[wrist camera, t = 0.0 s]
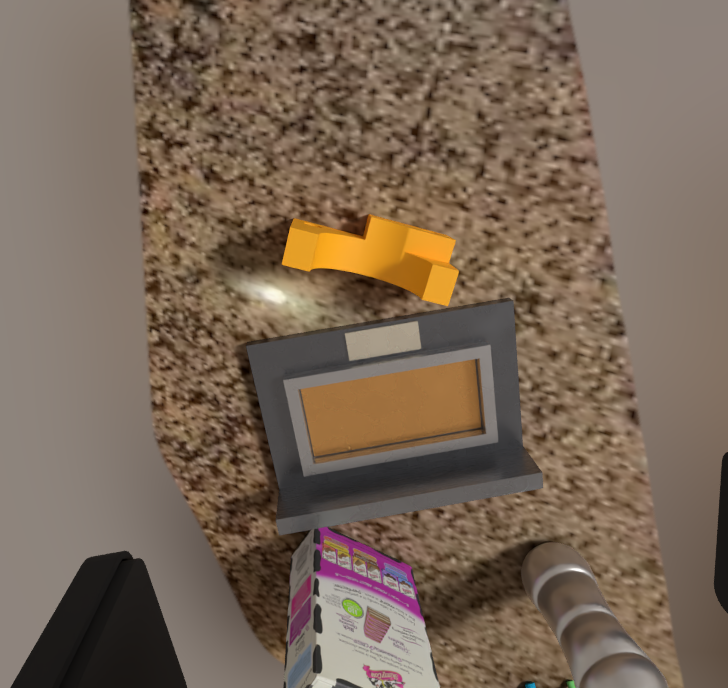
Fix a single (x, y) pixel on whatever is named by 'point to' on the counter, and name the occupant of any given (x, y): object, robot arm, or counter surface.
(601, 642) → the plastic bottle
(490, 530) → the counter surface
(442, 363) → the grey tray with recess
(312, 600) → the candy bar box
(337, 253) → the orange notched block
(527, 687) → the gear
